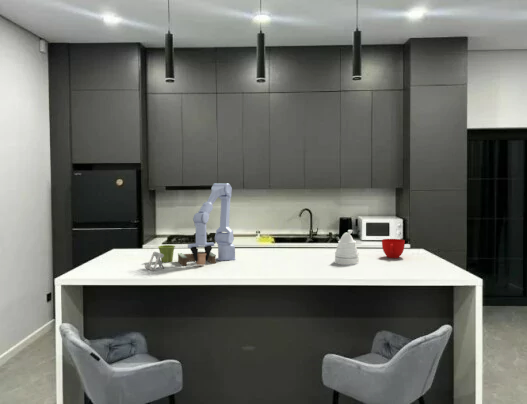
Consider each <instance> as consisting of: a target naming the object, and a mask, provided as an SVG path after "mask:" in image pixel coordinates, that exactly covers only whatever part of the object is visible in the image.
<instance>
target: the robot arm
mask: <svg viewBox="0 0 527 404" xmlns="http://www.w3.org/2000/svg"><path fill="white" fill-rule="evenodd" d="M232 190H233V188H232V186H231V184H230V183H228V182H227V183H219V182H217V183H213V184H212V186H211V192H210V195H209V197H208V199H207V201H204V202H203V203H202V206H201V207H200V209H199V210H198V212H196V213H194V214H193V218H192V220H193V223H194V227H195V243H189V244H187V248H188V249H190V251H191V254H193V256H194V260H195V261H194V262H196V261H197V253H198V252H199V249H198V248H203V249H204V252H206V253H207V255H206V261H207V260H208V258H209V254H210V252H211V253H212V250H213V247H215V243H216V245H217V257H216V260H217V261H235V260H236V248H235V247H236V246H235V244H234V243H233V242H234V240H235V237H234V236H235V235H234V230H232V229H231V227H230V217H231V216H230V215H231V214H230V213H231V198H232ZM218 198H219V199H220V219H219V220H220V221H219V227H218V228H217V229H216V230H215V234H214V235H215V236H214V241H215V242H212V241H211V242H207V241H208V240H207V224H208V223H209V220H210V214H211V212H212V211H213V209H214V206H213V205H214V204H215V202H216V200H217V199H218Z"/></svg>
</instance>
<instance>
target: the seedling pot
mask: <svg viewBox="0 0 527 404" xmlns="http://www.w3.org/2000/svg"><path fill="white" fill-rule="evenodd" d="M206 255H207V253H206V252H205V251H198V253H197V261H195V265H199V266H204V265H206V261H207V260H206Z"/></svg>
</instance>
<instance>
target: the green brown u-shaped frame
mask: <svg viewBox="0 0 527 404" xmlns="http://www.w3.org/2000/svg"><path fill="white" fill-rule="evenodd" d="M216 256H217V254H215V253H213V252H212V251H211V252H210V254H209V258H208V260H206V261H208V262H209V263H211V264H216V260H217V259H216V258H217V257H216ZM177 262H179V264H180V265H182V266H187V265H188V263H187V262H196V261H195V260H194V256H193V253H183V252H181V253H179V252H178V253H177Z"/></svg>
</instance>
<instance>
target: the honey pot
mask: <svg viewBox="0 0 527 404" xmlns="http://www.w3.org/2000/svg"><path fill="white" fill-rule="evenodd" d="M352 233H353V229H348V230H347V232H344V233H343V234H342V236H341V237H340V239H339V240H338V241H337V242H338V245H337V246H336V249H335V252H334V263H335V264H339V265H347V266H350V265H351V266H352V265H357V264H359V252H358V247H357V246H356V244H357V241H356V240H354V238H353V236H352V235H351V234H352Z"/></svg>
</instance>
